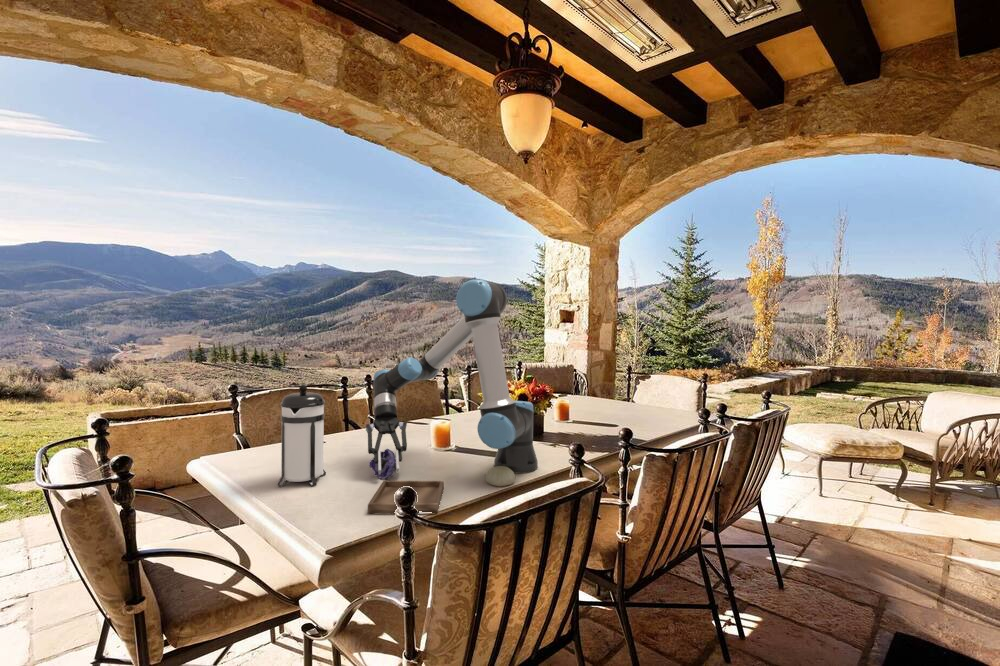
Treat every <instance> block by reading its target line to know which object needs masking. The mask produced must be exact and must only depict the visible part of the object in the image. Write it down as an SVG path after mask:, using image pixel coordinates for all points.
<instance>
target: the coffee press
mask: <svg viewBox="0 0 1000 666" xmlns="http://www.w3.org/2000/svg"><path fill="white" fill-rule="evenodd" d="M298 390H299V391H300V392H294V393H289V394H287V395H285V396H284V397H283V398H282V401H280V408H281V414H280V422H281V449H280V450H281V458H280V459H281V461H280V462H281V464H280V465H281V470H280V471H281V475H280V479H279V480H278V481H277V486H278V487H280V488H282V487H285V485H286V484H287V483H288V482H290V483H291V482H293V483H298V482H308V483H309V485H310V487H311V488H312V487H316V486H317V479H318V478H319V477H320V476H321V477H325V476H326V474H327V471H326V470H325V469H324V443H325V442H324V438H325V437H324V431H325V430H324V429H325V428H324V425H325V422H324V421H325V420H324V419H325V412H324V411H325V405H326V400H325V399H324V397H323V395H322V394H320V393H318V392H312V391H309V392H308V387H307V385H305V384H301V385H300V386H299V388H298ZM283 480H284V481H283ZM281 486H282V487H281Z"/></svg>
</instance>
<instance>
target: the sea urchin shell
mask: <svg viewBox="0 0 1000 666" xmlns="http://www.w3.org/2000/svg"><path fill="white" fill-rule="evenodd" d="M515 474H516V473H514V472H513V471H512V470H511V469H510V468H508V467H505V466H496V467H494V466H493V467H491V468H489V470H487V472H486V474H485V477H484V479H485V481H486V483H487V484H489V485H491V486H494V487H505V486H510V485H512V484H513V483H514V482H515V481H516V475H515Z"/></svg>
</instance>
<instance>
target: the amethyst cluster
mask: <svg viewBox="0 0 1000 666" xmlns="http://www.w3.org/2000/svg"><path fill="white" fill-rule="evenodd" d="M368 465H369V468H370V469H371V470H372V471H373V472H374V476H376V477H378V480H382V479H384V480H387V479H390V478H391V477H392V476H393V474H394V473H395V472H396V460H395V452H394V451H392V450H391V449H389V448H385V450H384V451H381V474H378V464H375V463H374V457H373V458H371V460H370V461H369V462H368Z"/></svg>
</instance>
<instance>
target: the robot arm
mask: <svg viewBox="0 0 1000 666" xmlns="http://www.w3.org/2000/svg"><path fill="white" fill-rule="evenodd" d="M455 302H456V303H455V304H456V306H457V308H458V310H459V311H460V313H462V315H463V316H462V317H461V319H459V321H458V322H456V323H455V324H454V326H452V327H451V328H450V329H449V330H448V331H447V333H445V334H444V335H443V336H442V337H441V338H440V339H439V340H438V341H437V342H436V343H435V344H434V345H433V346H432V347H431V348H430V349H429V350H428V351H427V352H426V353H424V355H423V356H422V357H421V358H420V359H417V358H414V357H412V356H408V357H406V358H405V359H403V360H402V361H400V362H399V363H398V364H397V365H395V366H394V367H393V368H391V369H387V368H386V369H385V368H384V369H381V370H380V369H379V370H377V371H376V372H375V373H374V375H373V383H372V386H373V406H374V407H373V409H374V421H373V423H371V424H370V423H367V424H366V425H365V431H366V433H367V453H368V454H369V455H370V454H371V455H373V458H374V463H375V464H378V474H381V452H382V451H380V446H381V442H382V438H383V435H388V434H389V435H390V437H391V439H392V441H393V443H394V444H393V445H394V447H395V452H394V454H395V460H396V462H395V463H396V471H395V472H396V474H397V473H400V462H402V461H403V452H406V451H407V450H408V449H407V448H408V442H407V441H408V440H407V431H406V429H407V426H408V425H407V424H408V423H407V421H403V422H400V420H399V419H398V409H397V408H398V406H397V405H398V404H397V395H396V394H397V393H396V392H397V391H399V390H401V389H402V388H404V387H405V386H406V385H408V384H410V383H416V382H421V381H427V380H428V381H429V380H431V379H433V378H435V377H436V376H437V375H438V373H439V370H440V368H442V367H443V366H444V365H445V364H446V363H447V362H448V361H449V360H450V359H451V358H452V357H453V356H454V355H455V354H456V353H457V352H459V350H460V349H462V348H463V347H464V346H465V344H467V343H468V342H469V341H470V340H471V339H473V340H472V341H473V346H474V347H473V348H474V353H475V360H476V364H477V370H478V378H479V382H480V387H481V394H482V395H481V396H482V404H481V405H480V406H479V412H480V419H479V420H478V423H477V427H476V428H477V434H478V437H479V439H480V440H481V442H482V443H483V444H484V445H486V446H487V447H489V448H490V449H493V450H496V454H495V457H494V465H493V467H496V466H505V467H508V468H510V469H511V470H512V471H513V472H514V474H526V473H531V472H534V471H536V470H537V469H538V461H539V460H538V458H537V454H536V451H535V448H534V413H535V411H534V404H533V403H532V402H530V401H523V400H514V399H513V398H511V397H510V392H509V386H508V378H507V374H506V369H505V368H506V367H505V361H504V355H503V351H502V344H501V339H500V333H499V328H498V327H499V326H498V323H499V322H500V321H501V319H502V317H501V316H502V315H501V314H502V313H503V312H504V311H505V309H506V308H507V307H506V306H507V305H508V296H507V293H506V291H505V289H504V288H503V287H502V286H501V285H500V284H498V283H496V282H493V281H492V282H491V281H486V280H483V279H480V278H479V279H470V280H467V281H465V282H464V283H463V284H461V286H460V288H459V289H458V291H457V293H456V296H455ZM398 427H399V430H401V433H400V434H401V435H400V436H401V442H400V440H399V437H398V435H397V432H396V430H397V428H398ZM374 428H375V430H376V431H377V432H378V433H377V437H376V442H375V445H374V447H373V431H374ZM401 443H402V444H401Z"/></svg>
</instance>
